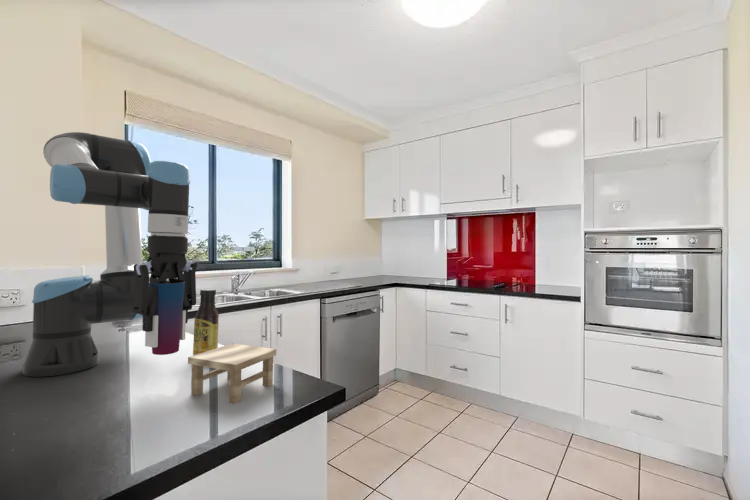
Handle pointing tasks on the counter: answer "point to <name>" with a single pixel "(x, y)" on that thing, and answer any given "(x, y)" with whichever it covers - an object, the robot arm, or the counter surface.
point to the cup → (169, 316)
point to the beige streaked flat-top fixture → (232, 367)
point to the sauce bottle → (206, 323)
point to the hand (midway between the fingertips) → (165, 342)
